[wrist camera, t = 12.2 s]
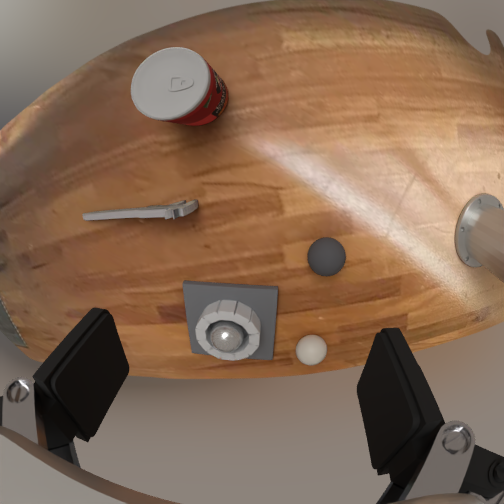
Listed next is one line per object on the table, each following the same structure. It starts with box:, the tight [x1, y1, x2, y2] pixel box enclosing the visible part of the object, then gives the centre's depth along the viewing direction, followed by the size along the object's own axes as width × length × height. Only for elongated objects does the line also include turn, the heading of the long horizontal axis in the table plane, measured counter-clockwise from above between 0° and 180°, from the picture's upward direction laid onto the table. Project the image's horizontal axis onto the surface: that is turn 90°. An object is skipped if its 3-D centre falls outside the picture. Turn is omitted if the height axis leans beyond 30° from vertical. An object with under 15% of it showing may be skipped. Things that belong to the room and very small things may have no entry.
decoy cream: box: [296, 335, 327, 365], centre depth 41 cm, size 5×5×5 cm
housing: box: [183, 281, 278, 361], centre depth 41 cm, size 14×14×4 cm
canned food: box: [131, 47, 228, 126], centre depth 26 cm, size 8×8×11 cm
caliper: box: [83, 200, 198, 220], centre depth 34 cm, size 20×1×6 cm, turn 95°
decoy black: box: [308, 237, 346, 276], centre depth 35 cm, size 5×5×5 cm
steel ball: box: [210, 320, 244, 352], centre depth 40 cm, size 5×5×5 cm
